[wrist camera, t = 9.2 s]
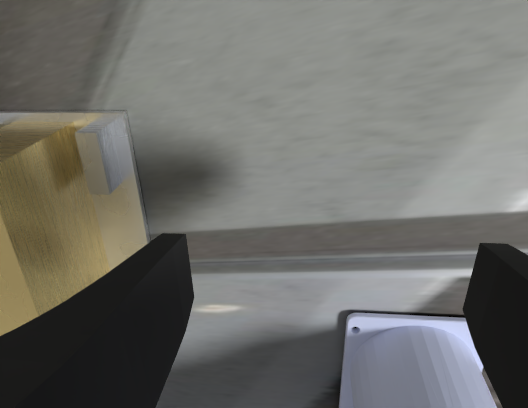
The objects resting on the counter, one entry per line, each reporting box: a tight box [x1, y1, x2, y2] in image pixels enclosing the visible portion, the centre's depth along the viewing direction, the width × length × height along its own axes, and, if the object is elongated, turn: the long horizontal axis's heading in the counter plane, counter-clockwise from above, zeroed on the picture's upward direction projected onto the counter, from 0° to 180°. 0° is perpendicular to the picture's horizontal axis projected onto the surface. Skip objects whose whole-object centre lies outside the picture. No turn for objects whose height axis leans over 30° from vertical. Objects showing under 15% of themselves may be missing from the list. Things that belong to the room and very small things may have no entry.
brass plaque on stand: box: [0, 122, 110, 336], centre depth 20 cm, size 13×3×6 cm, turn 1°
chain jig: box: [0, 110, 150, 271], centre depth 22 cm, size 14×8×2 cm, turn 2°
